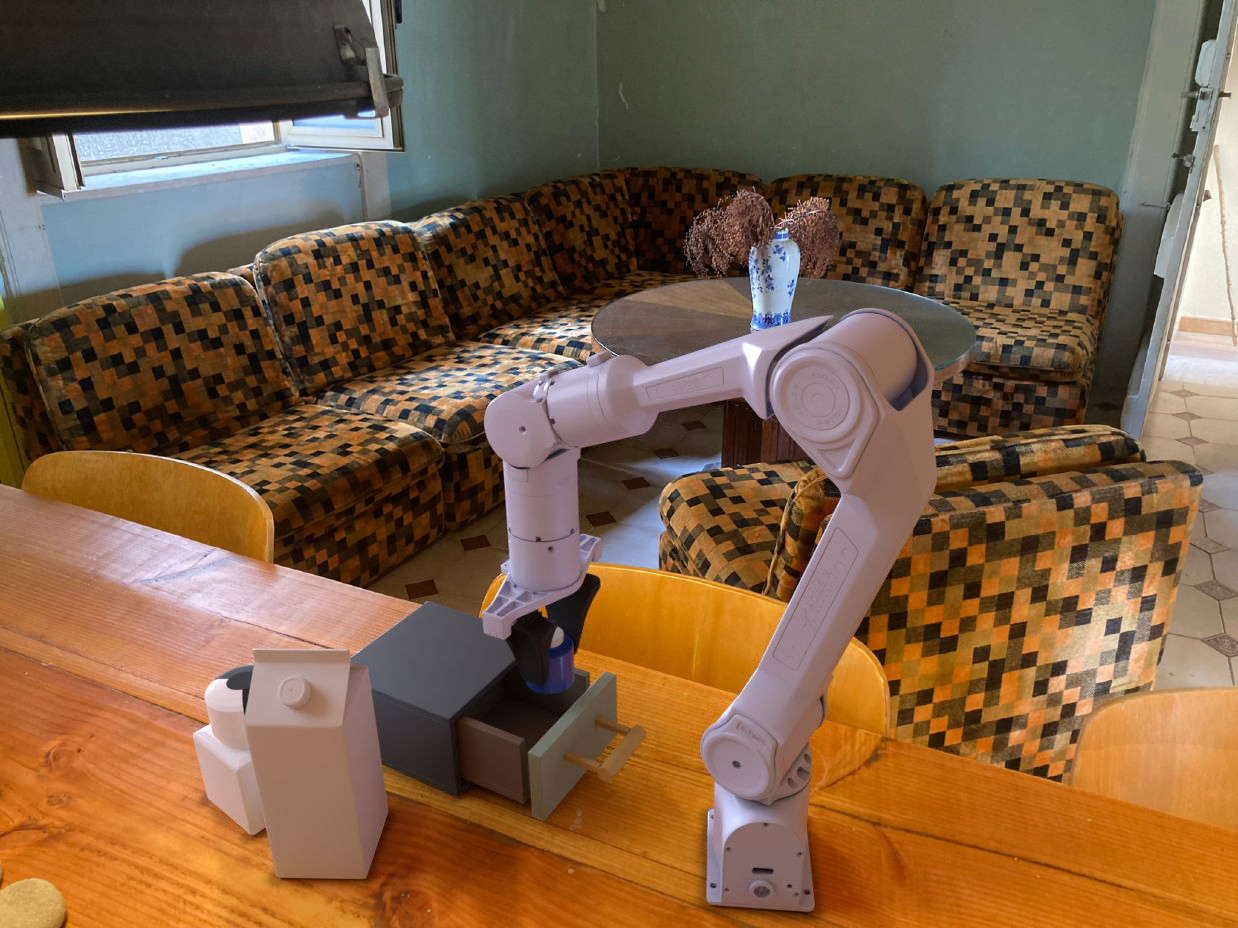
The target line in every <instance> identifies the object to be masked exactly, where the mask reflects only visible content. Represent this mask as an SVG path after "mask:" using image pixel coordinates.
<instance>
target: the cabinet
mask: <svg viewBox="0 0 1238 928" xmlns="http://www.w3.org/2000/svg"><path fill="white" fill-rule="evenodd" d="M350 657H351V662H355V663H358V664H361V665H365V666H368V670H369V677H370V684H371V691H372V698H373V705H374V712H375V719H376V726H377V733H378V740H379V747H380V754H381V761H382V766H383V767H384V766H385V767H386V768H388V769H391V770H394V771H396V772H398V773H400V774H402V775H405V776H407V777H409V778H412V779H414V780H416V781H419V782H421V783H423V784H425V785H428V786H430V787H431V788H432V787H433V788H434V789H436V790H439V791H441V792H443V793H445V794H448V795H451V796H453V797H455V798H459V797H460V796H461V795H462V794H463V793H464V792H465V791H466V790H467V789H468V788H469V787H470V786H471V785H472V784H473V782H471V781H468V780H466V779H464V778H461V776H460V766H459V757H458V747H457V737H456V727H455V721H456V720H457V719H458V718H459V717H460V716H461V715H462V714H463V713H464V712H466V711H467V710H468V709H469V708H470V707H471V706H472V705H473V704H474V703H475V702H476V701H478V700H479V699H480V698H481V697H482V696H483V695H484V694H485V693H486V692H487V691H489V690H490V689H491V688H492V687H493V686H494V685H495V684H496V683H497V682H498V681H499V680H501V679H502V678H503V677H504V676H505V675H506V674H507V673H508V672H509V671H510V670H512V669H513V668H514V667H515V666H516V665H517V663H516V660H515V658H514V655H513V653H512V651H511V649H510V647H509V646H508V644H507V642H506V641H505V640H503V639H500V638H496V637H493V636H490V635H488V634H485V633H484V629H483V617H480V616H475V615H474V614H470V613H467V612H464V611H461V610H458V609H454V608H452V607H448V606H445V605H443V604H440V603H436V602H434V601H430V600H426V602H424V603H423V604H421V605H420V606H419V607H417V608H416V609H415V610H413V611H412V612H410V613H409V614H408V615H407V616H405V617H403V618H402V619H401V620H399V621H398V622H397V623H395V624H394V625H393V626H391V627H390V628H389V629H387V630H386V631H385V632H383V633H382V634H380V635H379V636H378V637H376V638H375V639H373V640H372V641H371V642H370V643H368V644H367V645H366V646H364V647H362V648H361V649H360V650H359V651H357V652H356V653H354V654H353V655H352V656H350Z"/></svg>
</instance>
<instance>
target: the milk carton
mask: <svg viewBox="0 0 1238 928" xmlns="http://www.w3.org/2000/svg"><path fill="white" fill-rule="evenodd" d="M252 654H253V655H252V656H253V659H254V660H253V661H254V663H253V665H254V668H253V674H252V679H251V685H250V691H249V696H248V702H247V708H246V713H245V719H244V725H245V731H246V736H247V741H248V746H249V750H250V755H251V760H252V765H253V769H254V774H255V779H256V783H257V788H258V793H259V798H260V802H261V807H262V812H263V816H264V821H265V826H266V828H265V830H266V835H267V840H268V844H269V849H270V854H271V857H272V862H273V868H274V873H275V876H276V877H277V878H279V879H281V878H283V879H336V880H337V879H338V880H348V879H349V880H366V879H367V877H368V874H369V871H370V869H371V865H372V862H373V859H374V856H375V853H376V850H377V847H378V844H379V841H380V838H381V835H382V832H383V829H384V826H385V823H386V820H387V817H388V814H389V804H388V798H387V797H388V796H387V790H386V784H385V776H384V769H383V765H382V761H381V754H380V747H379V740H378V733H377V726H376V719H375V712H374V705H373V698H372V691H371V684H370V677H369V670H368V666H365V665H361V664H358V663H355V662H351V657H352V656H351V651H350V649H349V648H285V647H284V648H282V647H281V648H277V647H276V648H272V647H271V648H268V647H264V648H263V647H253V648H252Z"/></svg>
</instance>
